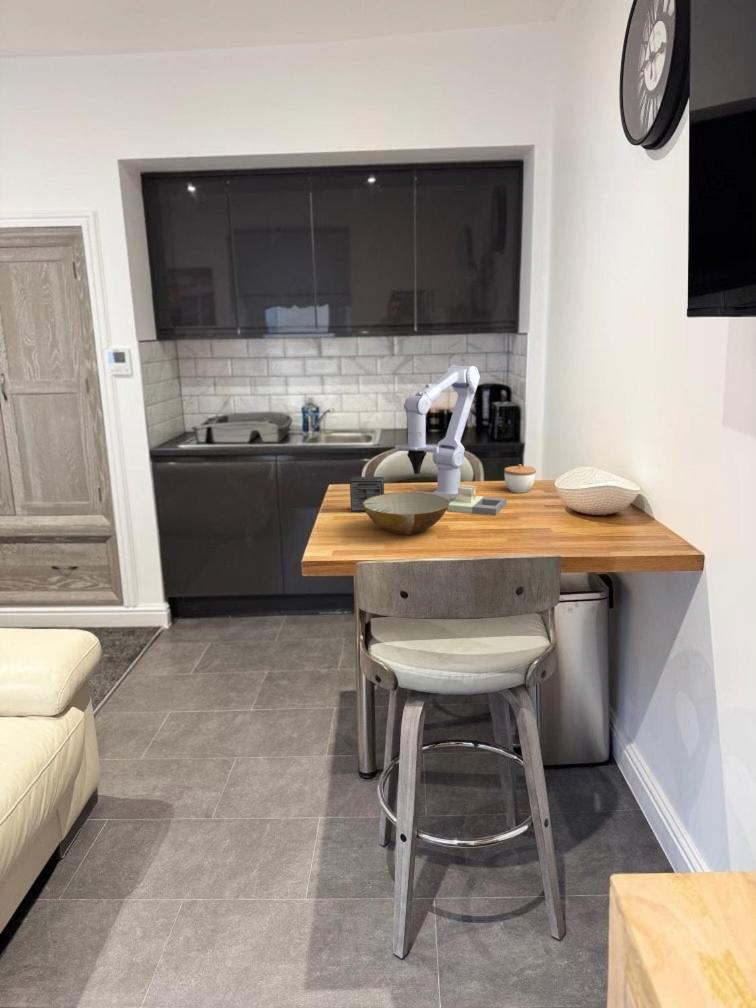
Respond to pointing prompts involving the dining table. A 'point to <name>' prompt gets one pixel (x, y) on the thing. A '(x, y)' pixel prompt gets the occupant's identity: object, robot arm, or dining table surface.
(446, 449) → the robot arm
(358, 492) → the small box
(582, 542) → the dining table surface
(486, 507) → the plate
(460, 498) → the block
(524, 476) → the lidded jar
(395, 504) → the bowl
